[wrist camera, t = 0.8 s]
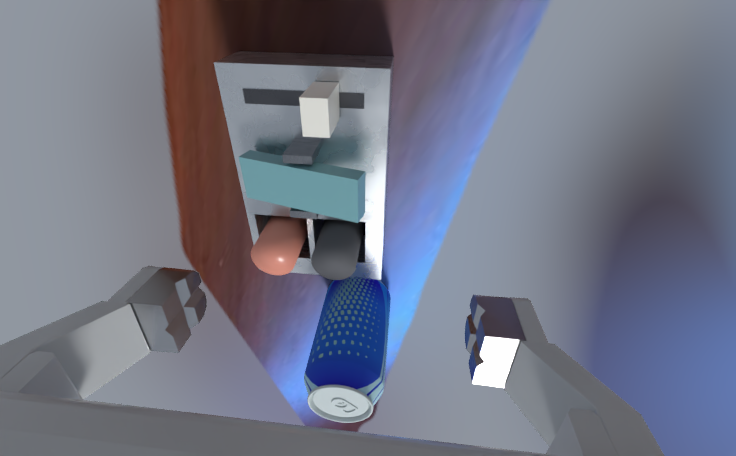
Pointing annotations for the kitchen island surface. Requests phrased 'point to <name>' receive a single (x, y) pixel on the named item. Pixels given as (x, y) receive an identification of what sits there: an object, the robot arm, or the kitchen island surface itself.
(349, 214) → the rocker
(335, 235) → the black button
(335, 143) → the switch box
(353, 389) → the beer can
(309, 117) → the slider knob
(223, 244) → the kitchen island surface
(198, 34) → the kitchen island surface
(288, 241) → the pink rounded cylinder
